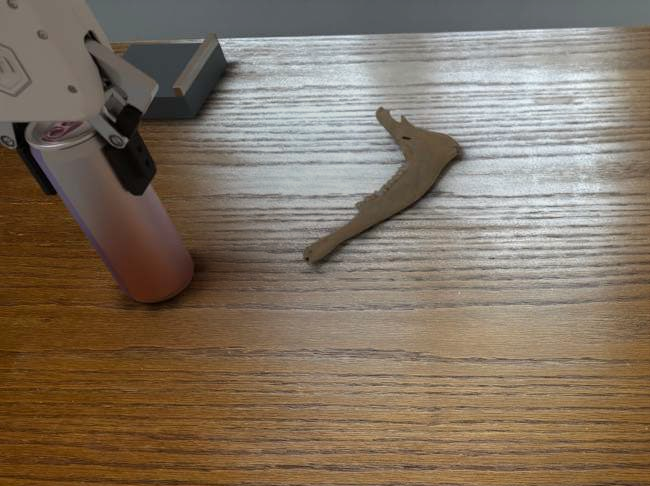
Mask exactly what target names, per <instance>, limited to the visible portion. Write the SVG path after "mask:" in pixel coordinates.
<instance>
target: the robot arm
mask: <svg viewBox="0 0 650 486" xmlns="http://www.w3.org/2000/svg"><path fill="white" fill-rule="evenodd" d="M121 57H122V56H119V55H118V54H117V53H115V51H114V49H113V47H112V45H111V43H110V41H109V39H108V37H107V36H106V34H105V33H104V31H103V28H102V26H101V24H100V23H99V22H98V19H97V18H96V16H95V15H94V13H93V12H92V10H91V8H90V6H89V4H88V2H87V1H86V0H0V144H1V145H2V146H4V147H6V148H8V149H11V150H16V153H17V155H18V157H20V159H21V160H22V162H23V164H24V165H25V166H26V168H27V169H28V171H29V173H30V174H31V175H32V177H33V178H34V180H35V181H36V183H37V184H38V185H39V187H40V188H41V190H42V192H43V193H44V195H46V196H56V195H57V194H58V193H57V191H56V190H55V188H54V187H53V185H52V184H51V182H50V181H49V179H48V178H47V176H46V175H45V173H44V172H43V170H42V169H41V167H40V166H39V164H38V163H37V161H36V160H35V158H34V157H33V155H32V153H31V150H30V145H29V143H28V142H27V141H26V139H25V129H26V127H27V125H28V124H29V122H79V121H88V122H89V123H90V124H91V125H92V126H93V127H94V128H95V129H96V130H97V131H98V132H99V133H100V134H101V135H102V136H103V137H104V138H105V139H106V140H107V141H108V142H109V143H110V144H111V145H110V146H109V148H108V149H107V154H108V156H109V158H110V159H111V161H112V163H113V164H114V166H115V168H116V170H117V171H118V173H119V175H120V177H121V178H122V180H123V182H124V183H125V185H126V187H127V189H128V190H129V192H130V193H131V194H132V195H133V196H142V195H143V194H144V192H145V190H146V189H147V187H148V186H149V184H150V183H152V181H153V180H154V178H155V176H156V174H157V170H158V169H157V166H156V162H155V160H154V158H153V156H152V154H151V153H150V151H149V149H148V147H147V145H146V144H145V141H144V140H143V138H142V136H141V134H140V131H139V130H138V128H139V127H140V125H141V123H142V121H143V120H144V119H143V117H144V115H145V113H146V111H147V109H148V107H149V105H150V103H151V102H152V100H153V98H154V96H155V94H156V92H157V91H158V88H159V86H158V83H157V82H156V81H155V80H154V79H153V78H151V77H150V76H148V75H146V74H145V73H143V72H142V71H140V70H139V69H137V68H136V67H134V66H133V65H131V64H130V63H128V62H127V61H125V60H124V59H122V58H121ZM115 86H117V87H119V88H120V89H122V90H123V91H124V92H125V93H126V94H127V101H125V100H124V99H123V98H122V97H121V96H120V95H119V94H118V93H117V92H116V91H115V89H114V88H113V87H115ZM104 105H105V106H106V107H107V108H108V109H109V110H110V111H111V112H112V113H113V114H114V115H115V116H116V117H117V119H116V122H115V123H114V122H113V120H112V119H111V118H110V117H109V116H108V115H107V114H106V113H105V112H104V111H103V110H101V109H102V108H103V106H104Z"/></svg>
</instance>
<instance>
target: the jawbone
mask: <svg viewBox="0 0 650 486" xmlns="http://www.w3.org/2000/svg"><path fill="white" fill-rule="evenodd" d="M374 115H375V118H376V120H377V122H378V123H379V124H380V125H381V126H382V127H383V129H385V130H386V132H387V133H388V134H389V135H390V136H391V137H392V138H393V139H394V140H395V142H397V145H398V146H399V148H400V150H401V153H402V155H403V157H404V162H403V163H401V164H400V166H399V167H398V168H397V170H396V171H395V172H394V175H391V178H390V179H388V180H387V182H385V183H384V184H382V186H381V188H380V189H378V190H377V189H376V190H374V191H373V194H369V195H366V196H365V197H364V198H363V200H360V201H357V202H356V203H355V204H354V207H355V209H357V210H358V212H357V214H356V215H355V216H353V218H352V219H350V220H349V221H348V222H347V223H346V224H344V225H343V226H341V227H340V228H337V229H336V230H334V231H333V232H331V233H329V234H327V235H325V236H323V237H321V238H320V239H318V240H316V241H314V242H313V243H311V244H309V245H307V246H305V248H304V250H303V251H302V259H303V260H304V261H305V263H307V264H306V265H307V266H309V265H311V264H313V263H315V262H318V261H319V260H321V259H323V258H325V257H326V256H327V255H328V254H331V252H332V251H333V250H334V249H335V248H336V247H338V246H339V245H340V244H341V243H342V242H343V241H346V240H348V239H350V238H352V237H355V236H356V235H358V234H360V233H362V232H363V231H365V230H367V229H369V228H371V227H372V226H374V225H377V224H379V223H381V222H382V221H384V220H387V219H388V218H390V217H392V216H393V215H396V214H397V213H399V212H400V211H403V210H404V209H406V208H408V207H409V206H410V205H412V204H413V203H415V202H417V201H418V200H419V199H421V198H422V197H423V196H424V195H425V194H426V193H427V192H428V191H429V190H430V188H431V187H432V186H433V185H434V183H435V182H436V180H437V179H438V177H439V175H440V173H441V172H442V170H443V169H444V168H445V166H446V165H447V164H448V163H449V162H451V160H453V159H454V158H455V157H458V155H459V153H460V143H459V141H457V140H456V139H455V138H454V137H453V136H450V135H448V134H447V133H444V132H438V131H431V130H427V129H423V128H420V127H417V126H415V125H414V124H412V123H411V122H410V121H409V120H408V119H407V118H406V116H405V115H403V114H401V115H400V121H398V120H396V119H394V118H393V116H391V110H390V109H386V108H384V106H379V107H378V108H377V109H376V110H375V114H374Z"/></svg>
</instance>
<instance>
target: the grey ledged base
mask: <svg viewBox="0 0 650 486" xmlns="http://www.w3.org/2000/svg"><path fill="white" fill-rule="evenodd" d="M120 57H121V58H122V59H124V60H125V61H127V62H128V63H130V64H131V65H133V66H134V67H136V68H137V69H139V70H140V71H142V72H143V73H145V74H146V75H148V76H150V77H151V78H153V79H154V80H155V81H156V82H157V83H158V86H159V88H158V91H157V92H156V94H155V96H154V98H153V100H152V102H151V103H150V105H149V107H148V109H147V111H146V113H145V115H144V117H143V119H142V120H154V119H155V120H168V119H172V120H173V119H174V120H175V119H176V120H177V119H179V120H180V119H183V120H185V119H186V120H187V119H188V120H189V119H195V118H196V117H197V115H198V113H199V112H200V110H201V109H202V107H203V105H204V103H205V102H206V100H207V99H208V97H209V96H210V94H211V92H212V91H213V89H214V87H215V86H216V84H218V83H217V82H218V81H219V79H220V78H221V76H222V74H223V73H224V71H225V70H226V68H227V66H228V65H229V64H228V61H227V59H226V56H225V53H224V51H223V48H222V46H221V44H220V41H219V39H218V36H217V33H216V32H214V33H213V32H209V33H207V34H206V36H205V38H204V39H203V41H202V42H175V43H174V42H171V43H132V44H130V45H129V47H128V48H127V49H126V51H125V52H124V53H123V55H122V56H120ZM113 88H114V89H115V91H116V92H117V93H118V94H119V95H120V96H121V97H122V98H123V99H124V100H125V101H127V94H126V93H125V92H124V91H123V90H122V89H120V88H119V87H117V86H115V87H113ZM104 106H105V105H104ZM105 107H106V106H105ZM106 109H107V110H108V113H109V114H111V115H112V116H113V117H114V118H115V119H116V120H117V117H116V116H115V115H114V114H113V113H112V112H111V111H110V110H109V109H108V108H107V107H106Z"/></svg>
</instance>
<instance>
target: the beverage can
mask: <svg viewBox="0 0 650 486" xmlns="http://www.w3.org/2000/svg"><path fill="white" fill-rule="evenodd" d="M101 110H103V111H104V112H105V113H106V114H107V115H108V116H109V117H110V118H111V119H112V120H113V122H114V123H115V122H116V120H117V119H115V118H114V117H113V116H112V115H111V114H109V113H108V110H107V109H106V107H105V106H103V108H102V109H101ZM25 139H26V141H27V142H28V143H29V145H30V150H31V153H32V155H33V157H34V158H35V160H36V161H37V163H38V164H39V166H40V167H41V169H42V170H43V172H44V173H45V175H46V176H47V178H48V179H49V181H50V182H51V184H52V185H53V187H54V188H55V190H56V191H57V194H58V196H59V198H60V199H61V200H62V202H63V203H64V205H65V206H66V208H67V209H68V211H69V213H70V214H71V215H72V217H73V219H74V220H75V222H76V223H77V224H78V226H79V228H80V229H81V230H82V232H83V233H84V235H85V237H86V238H87V239H88V241H89V243H90V245H91V246H92V247H93V249H94V250H95V252H96V253H97V255H98V256H99V258H100V259H101V261H102V263H103V264H104V265H105V267H106V268H107V270H108V271H109V273H110V274H111V276H112V277H113V279H114V281H115V282H116V283H117V285H118V286H119V288H120V290H121V291H122V292H123V294H124V295H125V296H127V297H128V298H130V299H132V300H134V301H137V302H139V303H145V304H154V303H160V302H164V301H167V300H169V299H172V298H174V297H176V296H178V295H179V294H180V293H182V292H183V291H185V289H186V288H187V287H188V286H189V285H190V283H191V281H192V278H193V276H194V270H195V263H194V260H193V258H192V256H191V254H190V252H189V250H188V249H187V247H186V245H185V243H184V242H183V240H182V238H181V236H180V233H179V232H178V231H177V229H176V227H175V225H174V223H173V221H172V220H171V218H170V216H169V214H168V212H167V210H166V209H165V207H164V205H163V203H162V201H161V200H160V197H159V196H158V194H157V192H156V190H155V189H154V187H153V185H152V182H150V184H149V186H148V187H147V189H146V190H145V192H144V194H143V195H142V196H133V195H132V194H131V193H130V192H129V190H128V189H127V187H126V185H125V183H124V182H123V180H122V178H121V177H120V175H119V173H118V171H117V170H116V168H115V166H114V164H113V163H112V161H111V159H110V158H109V156H108V154H107V149H108V148H109V146H110V145H111V144H110V143H109V142H108V141H107V140H106V139H105V138H104V137H103V136H102V135H101V134H100V133H99V132H98V131H97V130H96V129H95V128H94V127H93V126H92V125H91V124H90V123H89V122H88V121H79V122H29V124H28V125H27V127H26V129H25Z"/></svg>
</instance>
